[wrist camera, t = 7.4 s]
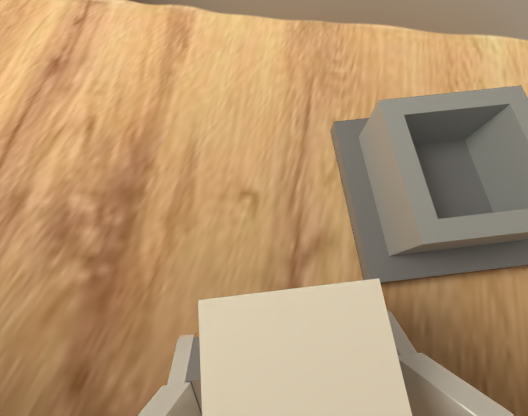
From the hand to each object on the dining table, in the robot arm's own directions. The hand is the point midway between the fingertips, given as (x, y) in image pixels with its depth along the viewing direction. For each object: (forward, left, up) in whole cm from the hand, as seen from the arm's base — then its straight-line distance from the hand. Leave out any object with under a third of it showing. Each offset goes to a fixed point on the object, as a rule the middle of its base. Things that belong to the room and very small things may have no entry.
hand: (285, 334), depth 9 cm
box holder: (+12, +7, -9) cm, 17 cm away
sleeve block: (0, -1, -6) cm, 6 cm away
